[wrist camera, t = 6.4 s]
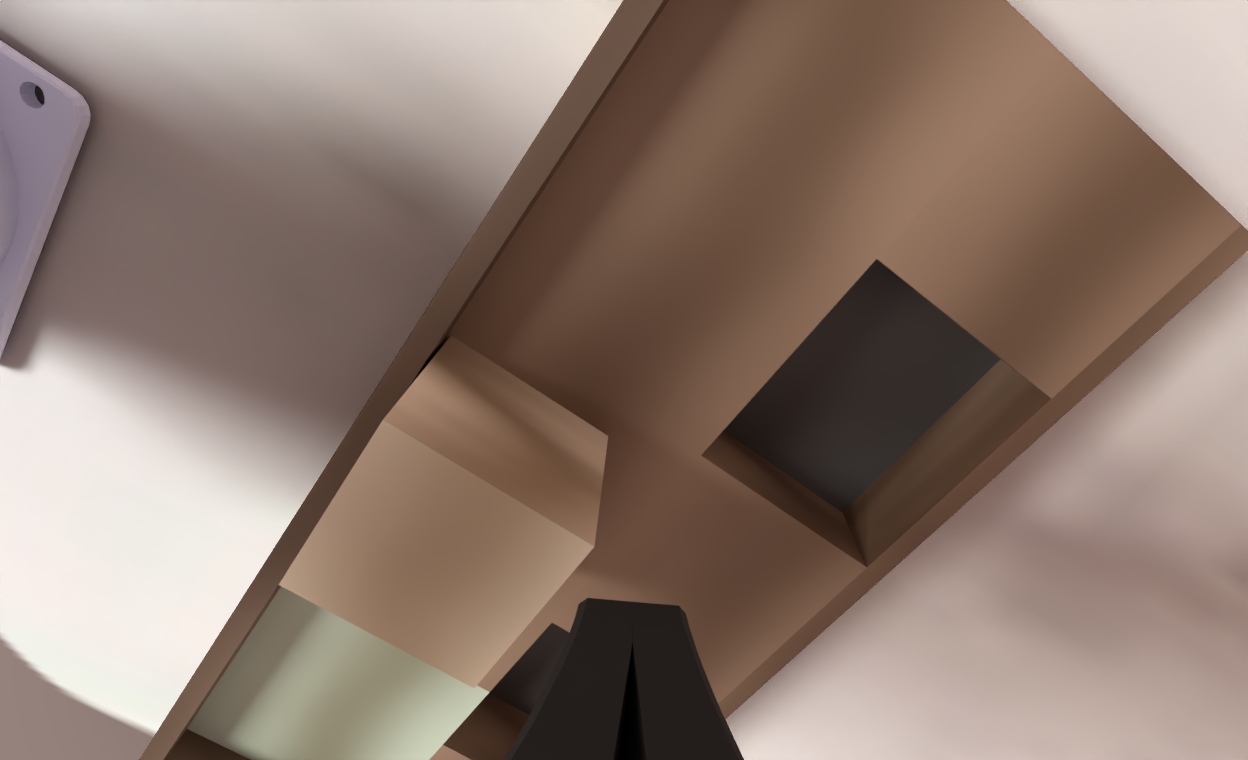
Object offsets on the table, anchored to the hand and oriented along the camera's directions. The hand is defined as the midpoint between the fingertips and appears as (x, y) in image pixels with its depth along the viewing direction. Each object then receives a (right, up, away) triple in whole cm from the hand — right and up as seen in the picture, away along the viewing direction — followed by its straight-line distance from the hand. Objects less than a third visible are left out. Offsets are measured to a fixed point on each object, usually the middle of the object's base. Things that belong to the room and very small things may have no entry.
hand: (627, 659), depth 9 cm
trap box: (0, +1, +9) cm, 9 cm away
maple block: (-3, +2, +6) cm, 7 cm away
